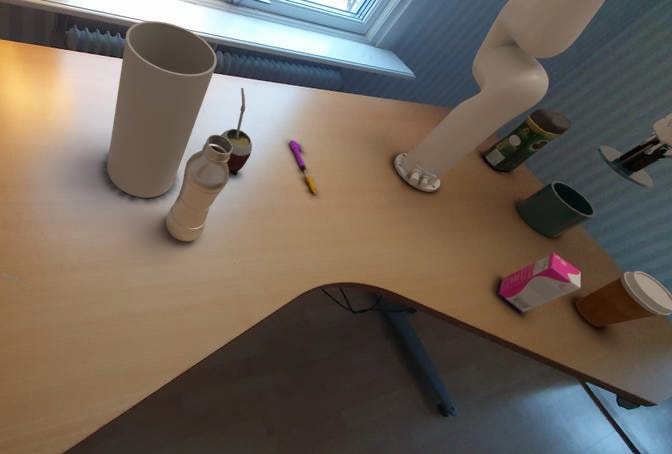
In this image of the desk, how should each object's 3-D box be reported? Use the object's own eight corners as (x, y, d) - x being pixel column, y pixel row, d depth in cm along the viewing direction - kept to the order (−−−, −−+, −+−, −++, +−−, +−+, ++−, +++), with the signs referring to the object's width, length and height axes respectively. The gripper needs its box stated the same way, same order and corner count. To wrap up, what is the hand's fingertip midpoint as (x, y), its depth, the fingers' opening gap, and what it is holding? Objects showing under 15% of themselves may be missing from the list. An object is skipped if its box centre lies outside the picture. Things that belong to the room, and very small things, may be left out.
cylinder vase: (93, 161, 68) (107, 25, 48) (148, 142, 74) (179, 17, 55) (132, 209, 64) (164, 83, 44) (186, 185, 71) (234, 67, 51)
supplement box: (524, 297, 80) (582, 272, 71) (521, 314, 76) (581, 289, 68) (500, 278, 81) (554, 251, 72) (495, 294, 78) (552, 267, 69)
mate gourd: (230, 185, 74) (262, 127, 63) (198, 163, 75) (224, 102, 63) (246, 166, 79) (278, 109, 67) (215, 146, 80) (242, 86, 68)
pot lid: (653, 198, 81) (694, 178, 75) (599, 165, 82) (635, 143, 77) (640, 170, 88) (676, 151, 83) (591, 141, 90) (623, 119, 85)
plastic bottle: (173, 250, 61) (212, 166, 46) (156, 218, 64) (187, 129, 49) (206, 240, 64) (252, 159, 49) (188, 210, 67) (227, 124, 52)
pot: (559, 245, 96) (598, 225, 89) (517, 218, 98) (553, 197, 91) (556, 219, 103) (592, 199, 96) (517, 195, 105) (550, 173, 98)
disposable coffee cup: (560, 292, 84) (622, 267, 75) (587, 294, 87) (651, 270, 78) (589, 333, 79) (659, 312, 70) (617, 334, 82) (689, 313, 72)
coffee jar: (499, 155, 116) (561, 107, 102) (514, 174, 112) (581, 126, 98) (477, 151, 114) (537, 101, 99) (491, 170, 109) (557, 121, 95)
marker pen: (288, 142, 88) (311, 195, 79) (291, 138, 87) (315, 191, 79) (296, 145, 89) (320, 197, 81) (299, 141, 88) (324, 194, 80)
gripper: (709, 73, 76) (605, 140, 90) (740, 102, 66) (617, 172, 80) (745, 93, 75) (634, 158, 89) (782, 126, 65) (650, 192, 79)
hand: (627, 164), depth 84 cm, fingers closed on pot lid, 2 cm apart
